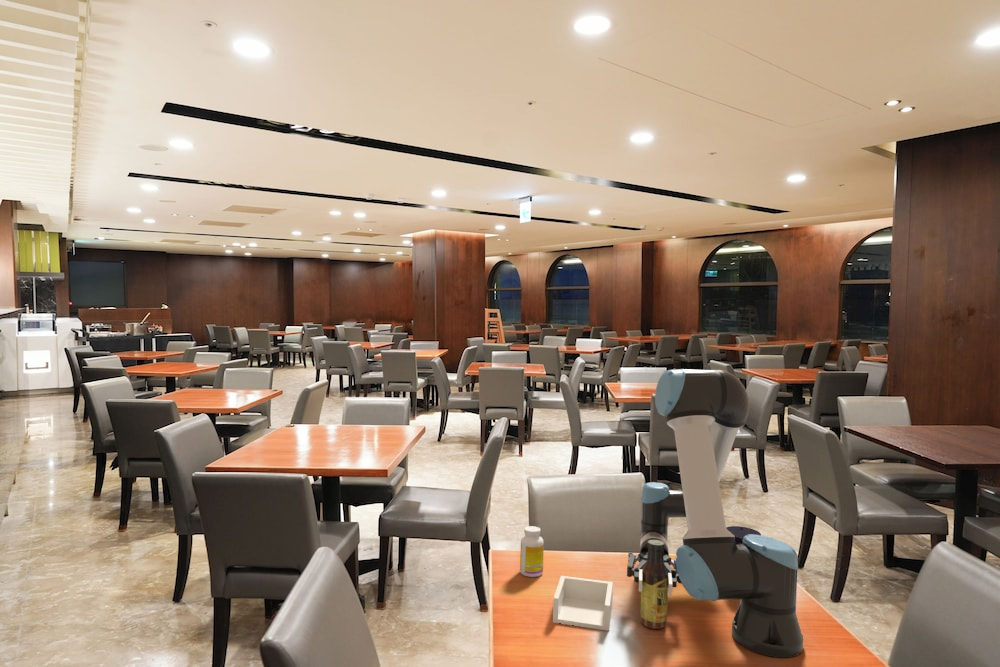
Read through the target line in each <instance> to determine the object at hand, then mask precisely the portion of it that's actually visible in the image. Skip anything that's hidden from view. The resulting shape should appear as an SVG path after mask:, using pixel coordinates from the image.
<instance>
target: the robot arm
mask: <svg viewBox="0 0 1000 667" xmlns="http://www.w3.org/2000/svg"><path fill="white" fill-rule="evenodd" d="M654 393H655V394H654V403H655V409H656V411H657V413H658V414H659V415H660V416H662V417H665V418H666V425H667V426H668V427H670V428H671V429H672V430H673V431H674V438H675V446H676V453H677V454H676V455H677V459H678V460H677V462H678V467H679V468H678V469H679V475H680V481H681V488H682V490H680V489H679V490H677V489H676V490H670V487H669V486H668V485H667V484H665V483H663V482H655V481H652V482H646V483H644V484H643V486H642V489H641V490H642V491H641V497H640V500H641V506H640V507H641V516H640V517H641V518H640V531H639V533H640V534H639V538H640V543H639V553H638V554H634V553H633V552H628V554H627V555H628V556H627V558H628V560H627V562H628V563H627V566H626V576H627V577H628V578H631V577H633V582H634V583H638V592H639V593H641V592H642V570H643V566H644V564H645V563H646V562H647V560H648V558H647V557H648V547H647V542H648V541H649V540H660V541H662V542H664V546H665V549H664V555H663V558H664V564H665V567H666V571H667V574H668V596H669V597H672V596H673V588H677V587H678V586H677V585H678V584H677V583H679V584H681V585H682V587H683V588H684V590H685V591H686V592H687V594H688V595H689V596H690V597H691V598H693V599H695V600H698V601H711V602H716V601H722V600H724V601H725V600H740V603H739V606H738V608H737V610H736V613H735V615H734V617H733V619H732V623H731V635H732V637H733V639H734V640H735V641H736V642H737V643H738V644H739V645H741V646H742V647H744V648H746V649H748V650H750V651H751V652H753V653H757V654H760V655H764V656H767V655H768V656H767V657H772V656H773V657H774V658H793V657H796V656H798V655H797V654H799V653H800V654H802V652H803V650H804V636H803V634H802V630H801V626H800V622H799V619H798V616H797V594H798V592H797V591H798V590H797V587H798V586H797V585H798V570H799V566H798V565H799V563H798V561H799V560H798V554H797V550H795V549H794V547H793V546H791V545H790V544H788V543H786V542H785V541H782V540H779V539H777V538H773V537H769V536H765V535H762V534H761V535H754V534H749V535H746V536H744V538H743V540H742V542H743V544H737V545H736V542H735V536H734V535H733V534H732V533H731V532H729V531H728V530H727V528H726V527H727V526H726V524H727V523H726V518H725V513H724V506H723V500H722V492H721V488H720V487H721V486H720V480H721V478H722V476H723V473H724V470H725V467H726V465H727V462H728V460H729V459H728V458H729V456H730V454H731V451H732V448H733V445H734V442H735V440H736V437H737V434H738V431H739V429H740V428H743V427H744V426H745V424H746V421H747V419H748V417H749V413H750V412H749V411H750V401H749V396H748V392H747V390H746V387H745V386H744V383H743V382H741V380H740V379H739V378H738V377H737V376H735V374H733V373H731V372H729V371H726V370H724V369H691V368H690V369H687V368H685V369H684V368H679V369H668V370H666V371H664V372H663V373H662V374H661V375H660V377H659V379H658V381H657V384H656V389H655V392H654ZM672 518H675V519H676V518H686V524H687V532H686V533H685V534H684V535H683V537H682V545H681V546H679V547H677V549H676V551H675V552H676V553H675V555H676V557H675V559H672V558H671V556H670V552H669V545H668V544H669V542H668V537H669V536H668V530H669V529H668V527H669V519H672ZM637 562H638V564H637V565H636V563H637ZM635 565H636V566H635ZM671 566H672V567H671ZM801 651H802V652H801ZM800 654H799V655H800ZM795 655H796V656H795ZM792 656H793V657H792Z"/></svg>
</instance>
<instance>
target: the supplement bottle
mask: <svg viewBox="0 0 1000 667" xmlns="http://www.w3.org/2000/svg"><path fill="white" fill-rule="evenodd" d="M523 531H524V532H523V533H524V535H523V536H522V537H521V538H520V558H519V559H520V562H519V563H520V564H519V569H520V570H519V571H520V574H521V575H522V576H525V577H527V578H529V577H530V578H536V577H540V576H542V575H543V573H544V543H545V542H544V539H543V537H542V536H541V533H542V532H541V528H540V527H539V526H535V525H534V526H532V525H530V526H529V525H528V526H526V527H524V530H523Z"/></svg>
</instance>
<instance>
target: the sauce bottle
mask: <svg viewBox="0 0 1000 667" xmlns="http://www.w3.org/2000/svg"><path fill="white" fill-rule="evenodd" d="M647 547H648V557H647V558H648V560H647V562H646V563H645V564H644V566H643V570H642V592H640V616H641V617H640V622H641V624H642V625H643V626H644V627H646V628H648V629H652V630H660V629H664V628H665V627H666V625H667V620H668V599H669V598H668V596H669V592H668V574H667V571H666V567H665V564H664V558H663V555H664V549H665V546H664V542H662V541H660V540H649V541H648V542H647Z"/></svg>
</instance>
